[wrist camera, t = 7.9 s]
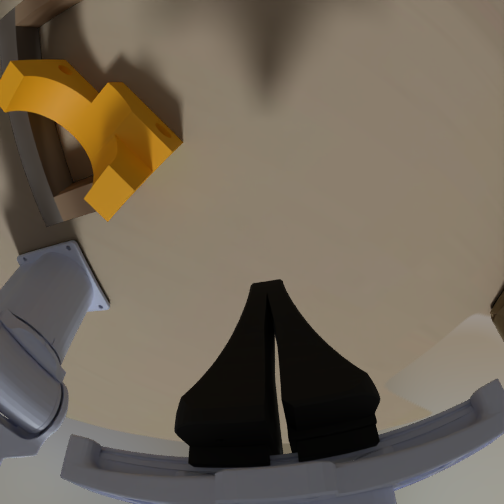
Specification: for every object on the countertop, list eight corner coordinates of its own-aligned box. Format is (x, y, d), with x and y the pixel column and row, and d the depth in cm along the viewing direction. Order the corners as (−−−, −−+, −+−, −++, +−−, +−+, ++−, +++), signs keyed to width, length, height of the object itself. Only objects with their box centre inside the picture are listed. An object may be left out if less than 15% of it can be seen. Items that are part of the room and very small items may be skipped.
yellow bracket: (183, 142, 18) (156, 167, 12) (143, 182, 19) (107, 221, 14) (80, 41, 13) (26, 35, 7) (48, 86, 14) (-8, 96, 9)
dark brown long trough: (64, 210, 20) (46, 226, 17) (20, 22, 10) (-2, 21, 8) (131, 189, 19) (116, 205, 17) (86, -21, 10) (67, -30, 7)
